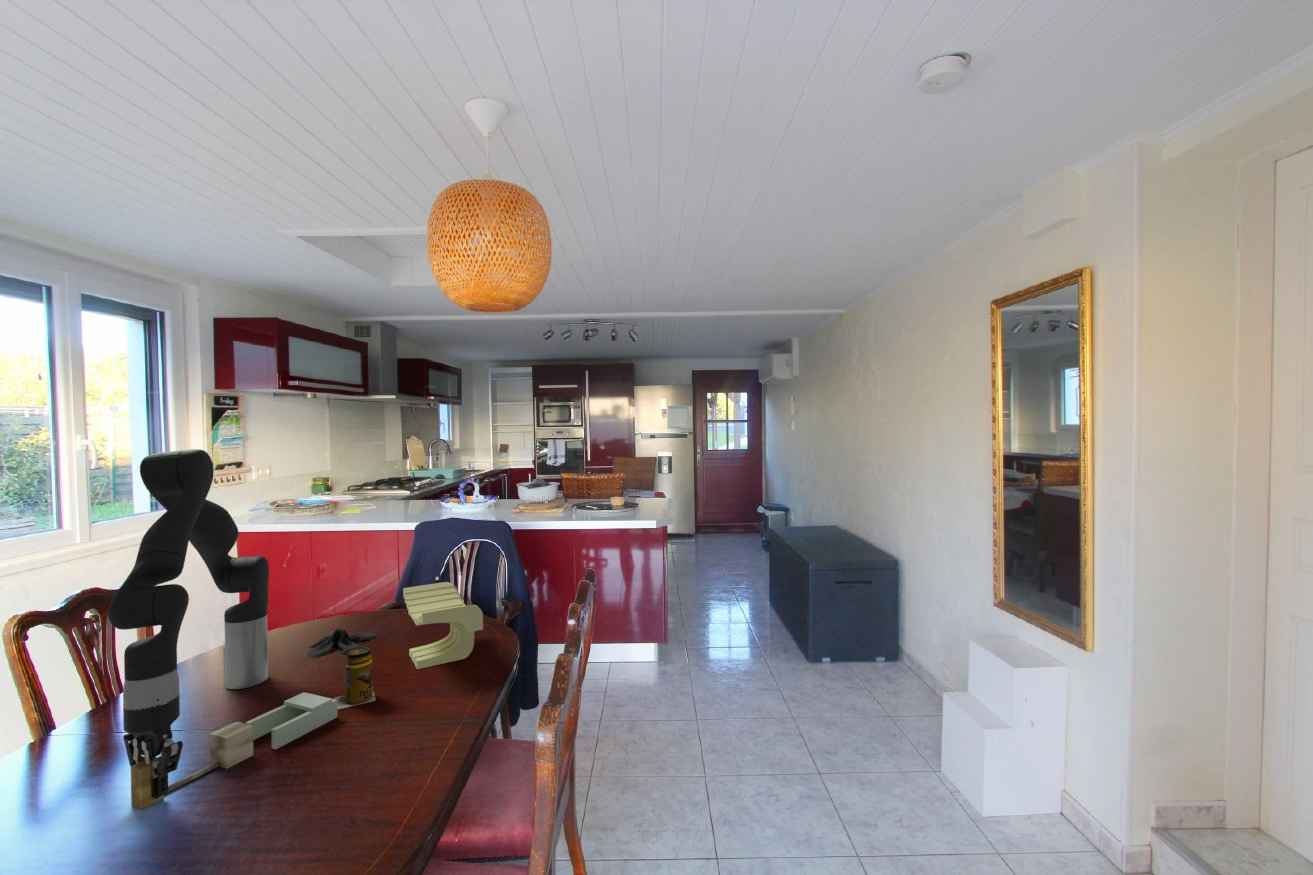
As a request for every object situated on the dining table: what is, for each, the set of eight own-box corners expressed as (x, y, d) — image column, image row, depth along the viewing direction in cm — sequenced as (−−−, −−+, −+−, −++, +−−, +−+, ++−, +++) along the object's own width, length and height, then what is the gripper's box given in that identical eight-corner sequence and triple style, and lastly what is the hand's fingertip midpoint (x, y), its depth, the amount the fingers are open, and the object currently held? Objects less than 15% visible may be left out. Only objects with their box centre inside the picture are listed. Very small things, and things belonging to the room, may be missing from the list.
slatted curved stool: (483, 665, 157) (482, 602, 157) (423, 680, 148) (422, 613, 148) (456, 634, 182) (456, 580, 182) (404, 645, 174) (403, 588, 173)
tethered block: (128, 804, 99) (127, 764, 99) (237, 750, 116) (236, 716, 116) (145, 810, 97) (144, 771, 97) (253, 755, 114) (252, 720, 114)
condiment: (376, 700, 137) (375, 652, 137) (336, 710, 132) (335, 660, 132) (372, 689, 143) (371, 643, 143) (334, 698, 138) (333, 650, 138)
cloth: (380, 633, 186) (380, 614, 186) (370, 653, 169) (370, 633, 168) (304, 641, 179) (303, 622, 179) (285, 664, 162) (285, 642, 162)
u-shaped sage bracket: (246, 740, 120) (245, 718, 119) (309, 710, 133) (308, 689, 133) (275, 749, 116) (275, 726, 116) (337, 717, 129) (337, 696, 129)
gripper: (102, 700, 99) (104, 796, 100) (149, 714, 94) (151, 816, 94) (153, 682, 106) (155, 772, 106) (200, 694, 101) (201, 789, 101)
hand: (153, 792), depth 100 cm, fingers closed on tethered block, 3 cm apart
